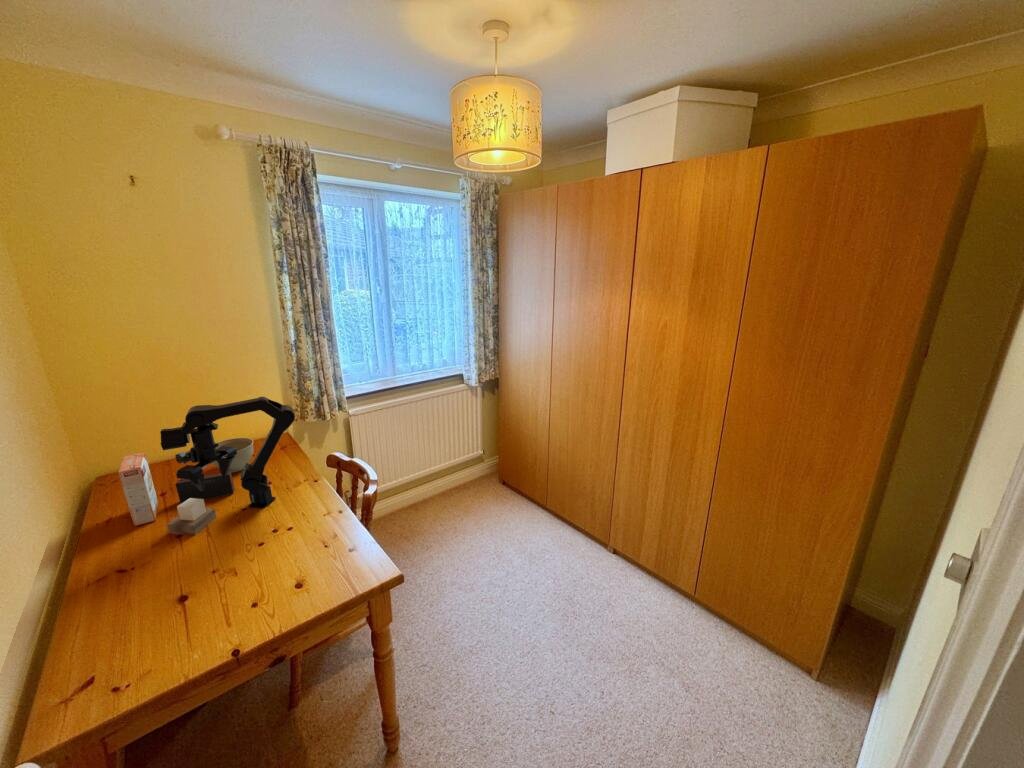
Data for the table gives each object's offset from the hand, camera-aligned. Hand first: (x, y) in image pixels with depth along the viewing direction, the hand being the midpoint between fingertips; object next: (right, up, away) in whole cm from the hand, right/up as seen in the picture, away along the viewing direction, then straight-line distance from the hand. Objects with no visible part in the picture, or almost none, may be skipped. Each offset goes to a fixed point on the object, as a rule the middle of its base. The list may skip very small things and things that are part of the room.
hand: (213, 483), depth 138 cm
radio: (-11, -9, +14) cm, 19 cm away
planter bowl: (-16, -2, +34) cm, 38 cm away
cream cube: (-4, -10, -4) cm, 11 cm away
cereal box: (-25, -12, +3) cm, 28 cm away
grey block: (-4, -14, -3) cm, 15 cm away
